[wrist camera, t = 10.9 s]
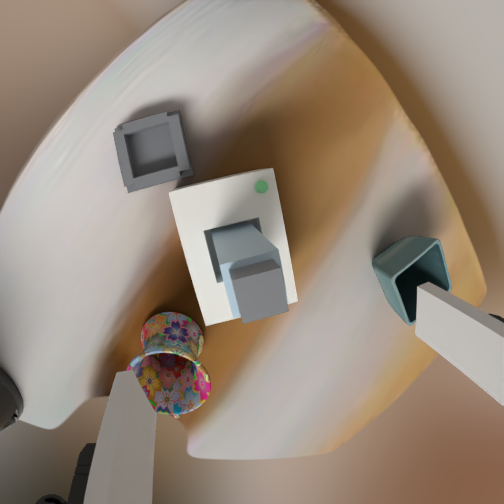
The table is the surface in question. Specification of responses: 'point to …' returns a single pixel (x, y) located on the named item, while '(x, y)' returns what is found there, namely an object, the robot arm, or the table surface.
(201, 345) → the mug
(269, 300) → the plug
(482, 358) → the robot arm
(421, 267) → the flower pot
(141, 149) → the holster
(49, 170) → the table surface
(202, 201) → the port panel
